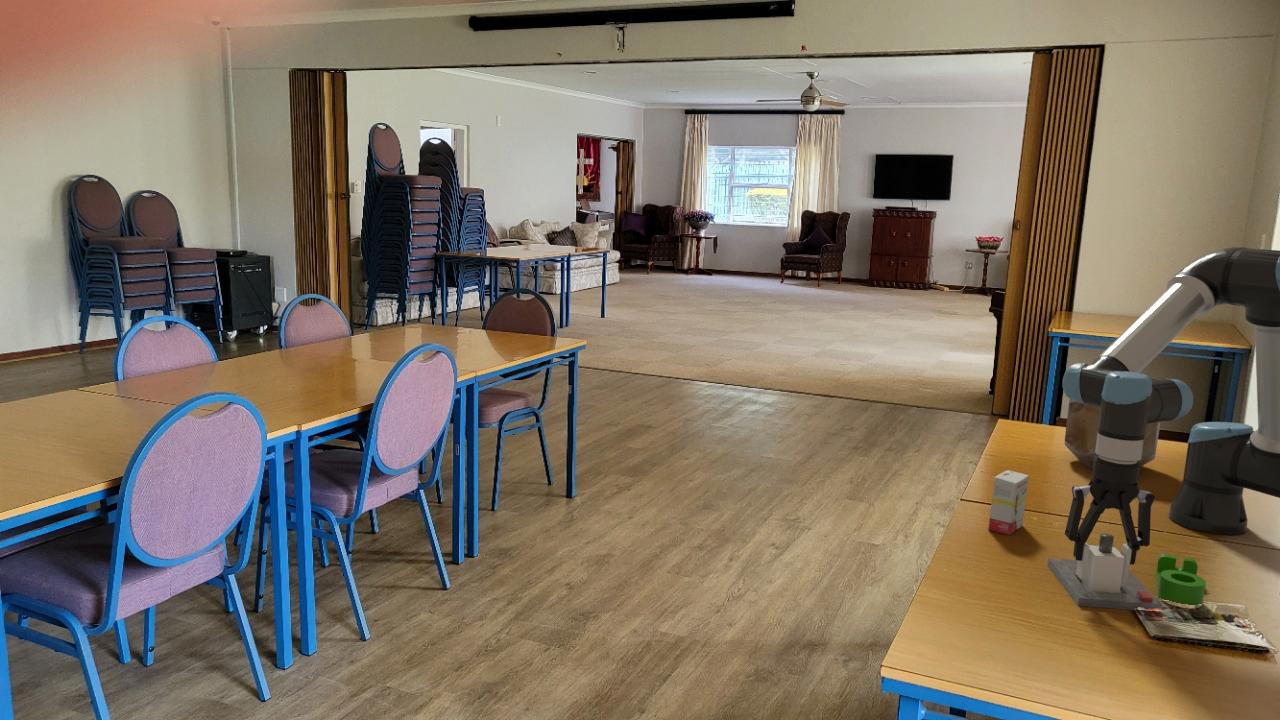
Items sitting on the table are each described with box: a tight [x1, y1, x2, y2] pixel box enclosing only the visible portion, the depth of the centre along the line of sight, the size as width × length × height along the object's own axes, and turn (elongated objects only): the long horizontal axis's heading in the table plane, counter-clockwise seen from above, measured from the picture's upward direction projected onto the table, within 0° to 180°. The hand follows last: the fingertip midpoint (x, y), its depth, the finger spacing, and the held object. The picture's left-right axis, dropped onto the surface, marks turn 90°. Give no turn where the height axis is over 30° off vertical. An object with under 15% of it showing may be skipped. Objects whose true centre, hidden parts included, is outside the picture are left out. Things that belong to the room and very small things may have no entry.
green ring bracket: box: [1155, 553, 1207, 605], centre depth 174 cm, size 15×7×5 cm, turn 155°
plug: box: [1081, 533, 1124, 593], centre depth 173 cm, size 5×5×11 cm
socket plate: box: [1047, 557, 1163, 611], centre depth 175 cm, size 14×18×2 cm
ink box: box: [987, 469, 1030, 536], centre depth 204 cm, size 9×5×12 cm, turn 139°
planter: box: [1064, 398, 1161, 470], centre depth 252 cm, size 22×24×24 cm
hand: (1101, 578), depth 173 cm, fingers open, 7 cm apart
